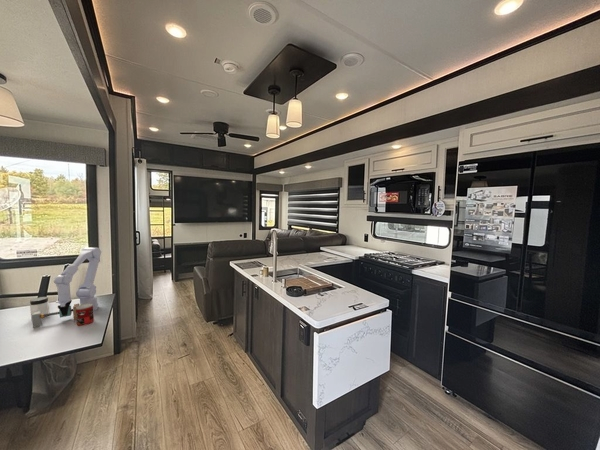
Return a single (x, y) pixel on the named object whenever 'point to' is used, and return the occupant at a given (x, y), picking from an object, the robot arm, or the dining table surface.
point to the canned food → (84, 314)
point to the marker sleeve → (67, 314)
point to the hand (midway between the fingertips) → (65, 313)
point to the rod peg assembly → (38, 316)
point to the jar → (39, 305)
